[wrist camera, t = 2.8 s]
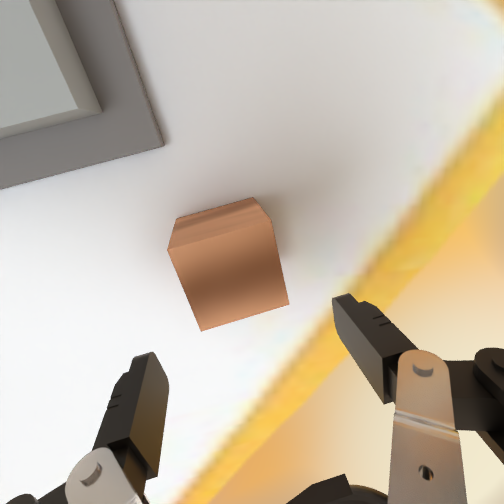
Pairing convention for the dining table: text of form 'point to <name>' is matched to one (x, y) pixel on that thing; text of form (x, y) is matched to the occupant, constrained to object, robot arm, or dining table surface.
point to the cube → (228, 263)
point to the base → (114, 97)
